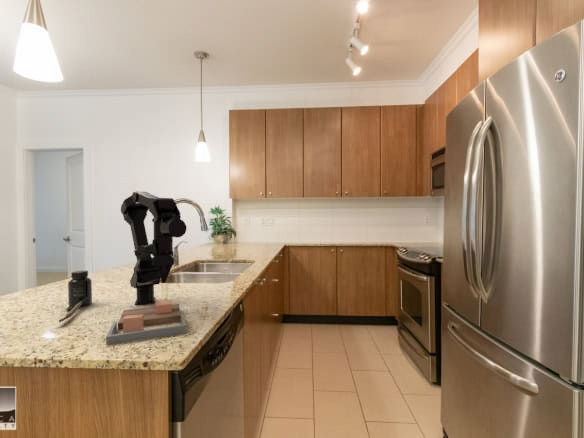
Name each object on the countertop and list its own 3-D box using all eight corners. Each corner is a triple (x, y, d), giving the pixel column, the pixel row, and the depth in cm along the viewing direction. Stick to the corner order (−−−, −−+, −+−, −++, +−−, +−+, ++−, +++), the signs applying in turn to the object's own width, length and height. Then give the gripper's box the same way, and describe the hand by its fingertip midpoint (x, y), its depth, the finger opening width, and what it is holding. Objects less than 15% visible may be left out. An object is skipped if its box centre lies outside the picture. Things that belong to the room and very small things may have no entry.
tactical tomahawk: (69, 308, 101) (68, 306, 100) (90, 299, 102) (88, 296, 102) (41, 334, 81) (39, 330, 81) (67, 321, 83) (65, 318, 83)
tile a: (125, 315, 79) (122, 319, 76) (143, 314, 80) (141, 317, 78) (125, 332, 79) (123, 336, 77) (143, 330, 80) (142, 333, 78)
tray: (113, 333, 79) (113, 322, 79) (184, 323, 86) (183, 313, 86) (106, 349, 70) (106, 336, 70) (186, 336, 77) (185, 325, 77)
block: (156, 309, 92) (156, 301, 92) (171, 307, 93) (171, 299, 93) (155, 314, 87) (155, 305, 87) (171, 312, 89) (171, 303, 89)
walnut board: (123, 318, 91) (123, 310, 91) (179, 311, 97) (178, 303, 97) (117, 332, 80) (117, 323, 80) (180, 323, 86) (180, 315, 86)
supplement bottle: (96, 302, 108) (96, 269, 107) (81, 308, 101) (80, 273, 100) (79, 301, 108) (79, 269, 108) (63, 307, 101) (62, 273, 101)
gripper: (138, 234, 102) (139, 278, 103) (132, 239, 85) (133, 292, 85) (172, 233, 107) (173, 276, 107) (173, 237, 89) (174, 288, 90)
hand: (163, 282), depth 97 cm, fingers closed
